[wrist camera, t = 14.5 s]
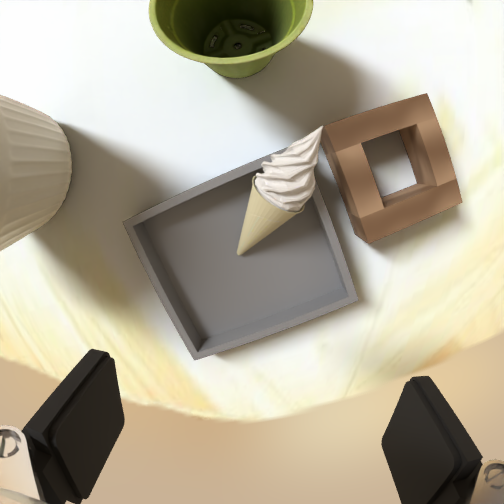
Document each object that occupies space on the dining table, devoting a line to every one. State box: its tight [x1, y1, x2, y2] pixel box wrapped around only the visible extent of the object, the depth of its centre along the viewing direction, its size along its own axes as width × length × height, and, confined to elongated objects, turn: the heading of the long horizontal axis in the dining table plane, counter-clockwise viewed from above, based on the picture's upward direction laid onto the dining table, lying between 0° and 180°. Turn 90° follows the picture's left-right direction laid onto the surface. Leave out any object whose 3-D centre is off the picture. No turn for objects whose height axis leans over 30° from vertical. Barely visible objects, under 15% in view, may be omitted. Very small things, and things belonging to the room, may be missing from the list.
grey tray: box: [123, 147, 358, 360], centre depth 32 cm, size 16×18×4 cm
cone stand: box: [320, 93, 462, 244], centre depth 29 cm, size 11×11×4 cm
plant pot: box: [149, 0, 313, 78], centre depth 23 cm, size 12×12×11 cm
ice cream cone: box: [237, 125, 323, 255], centre depth 27 cm, size 5×5×15 cm
